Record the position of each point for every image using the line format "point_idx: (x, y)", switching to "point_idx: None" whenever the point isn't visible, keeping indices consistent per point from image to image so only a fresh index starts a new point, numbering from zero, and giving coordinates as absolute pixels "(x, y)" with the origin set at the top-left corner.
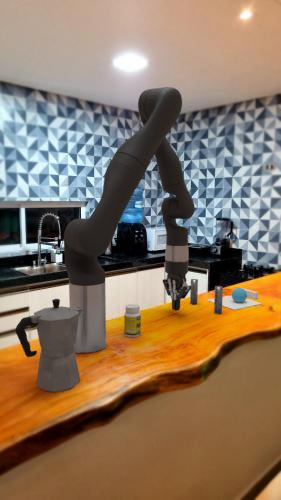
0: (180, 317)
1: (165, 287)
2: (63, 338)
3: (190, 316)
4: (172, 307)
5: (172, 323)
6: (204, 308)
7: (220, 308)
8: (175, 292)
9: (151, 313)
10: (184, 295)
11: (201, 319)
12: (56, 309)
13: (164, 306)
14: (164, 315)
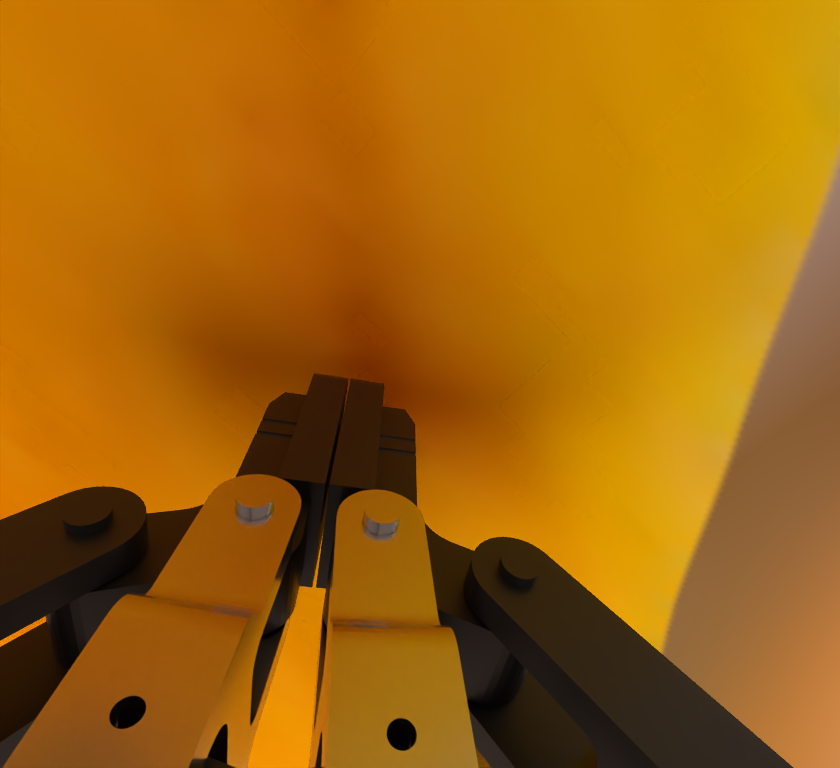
0: (210, 335)
1: (720, 734)
2: None
3: (175, 450)
4: (367, 394)
5: (21, 14)
6: (306, 689)
7: None
8: (105, 622)
9: (642, 137)
10: (5, 665)
11: (13, 462)
12: None
13: (670, 491)
14: (421, 228)
